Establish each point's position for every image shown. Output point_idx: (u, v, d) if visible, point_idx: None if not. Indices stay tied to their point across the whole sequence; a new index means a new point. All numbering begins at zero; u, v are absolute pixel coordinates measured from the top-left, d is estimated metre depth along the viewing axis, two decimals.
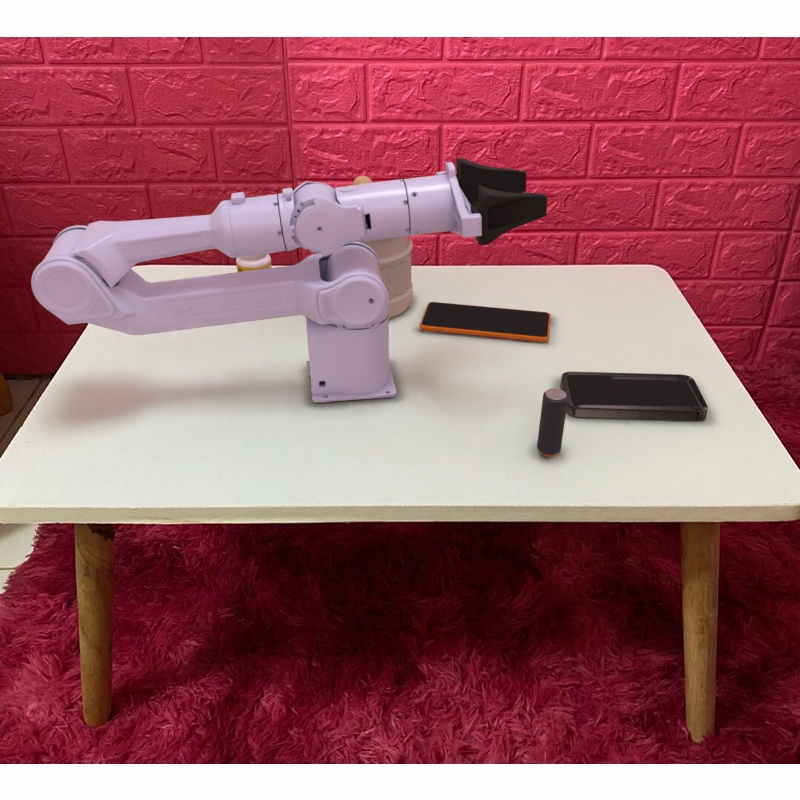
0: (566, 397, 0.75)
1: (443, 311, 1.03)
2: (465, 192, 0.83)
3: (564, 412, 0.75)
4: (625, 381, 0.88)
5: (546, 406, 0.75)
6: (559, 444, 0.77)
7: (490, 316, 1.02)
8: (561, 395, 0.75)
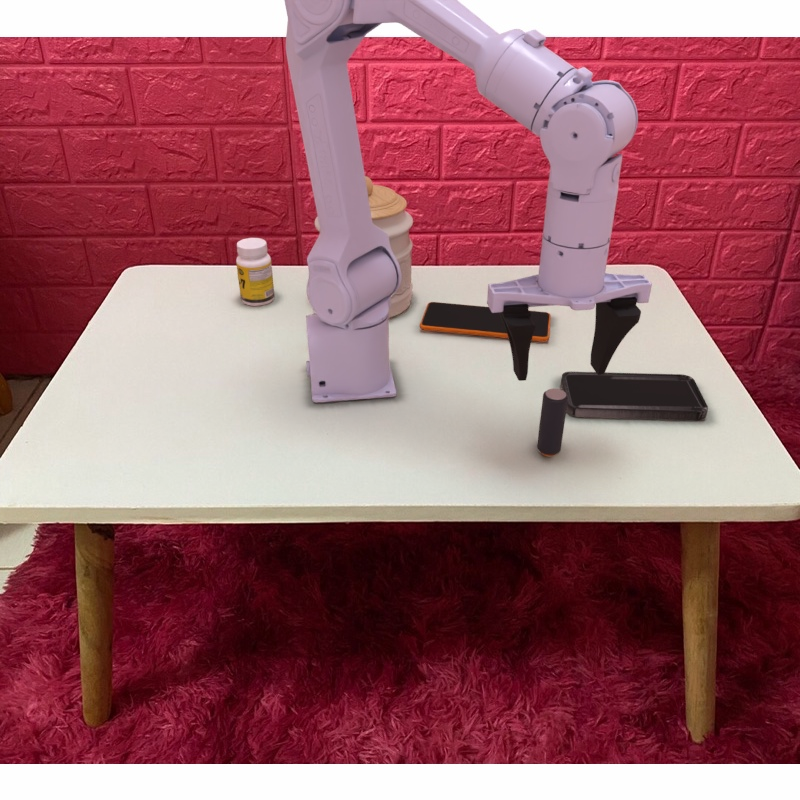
0: (566, 397, 0.75)
1: (443, 311, 1.03)
2: (604, 305, 0.71)
3: (564, 412, 0.75)
4: (625, 381, 0.88)
5: (546, 406, 0.75)
6: (559, 444, 0.77)
7: (490, 316, 1.02)
8: (561, 395, 0.75)
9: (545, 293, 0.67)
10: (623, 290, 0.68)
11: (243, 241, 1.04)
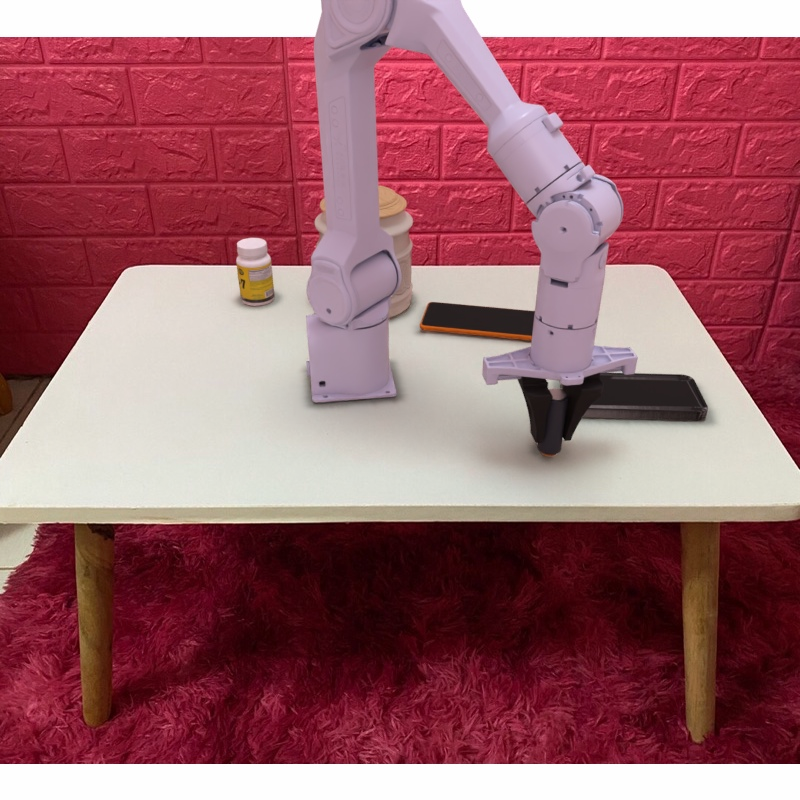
0: (566, 397, 0.75)
1: (442, 311, 1.03)
2: None
3: (564, 412, 0.75)
4: (625, 381, 0.88)
5: None
6: (559, 444, 0.77)
7: (490, 316, 1.02)
8: (561, 395, 0.75)
9: (537, 367, 0.71)
10: (610, 364, 0.72)
11: (243, 241, 1.04)
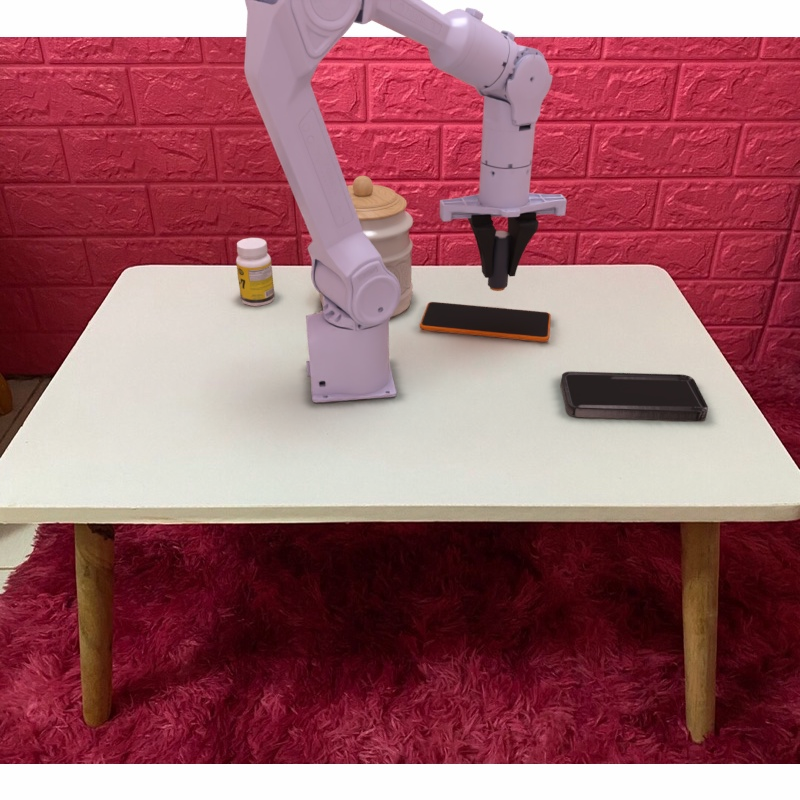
0: (509, 236, 0.91)
1: (443, 311, 1.03)
2: (512, 219, 0.91)
3: (508, 249, 0.91)
4: (625, 381, 0.88)
5: None
6: (505, 279, 0.93)
7: (490, 316, 1.02)
8: (505, 234, 0.91)
9: (483, 205, 0.87)
10: (543, 204, 0.88)
11: (243, 241, 1.04)
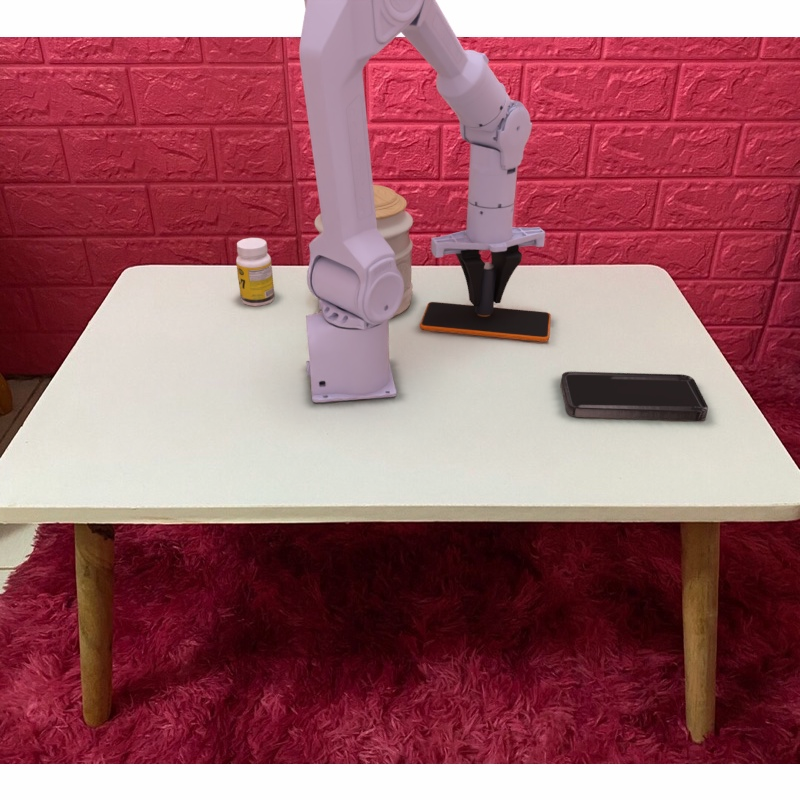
0: (495, 267, 0.99)
1: (442, 311, 1.03)
2: (496, 251, 0.99)
3: (494, 279, 0.99)
4: (625, 381, 0.88)
5: None
6: (492, 306, 1.01)
7: (490, 316, 1.02)
8: (491, 266, 0.99)
9: (472, 241, 0.95)
10: (526, 237, 0.96)
11: (243, 241, 1.04)
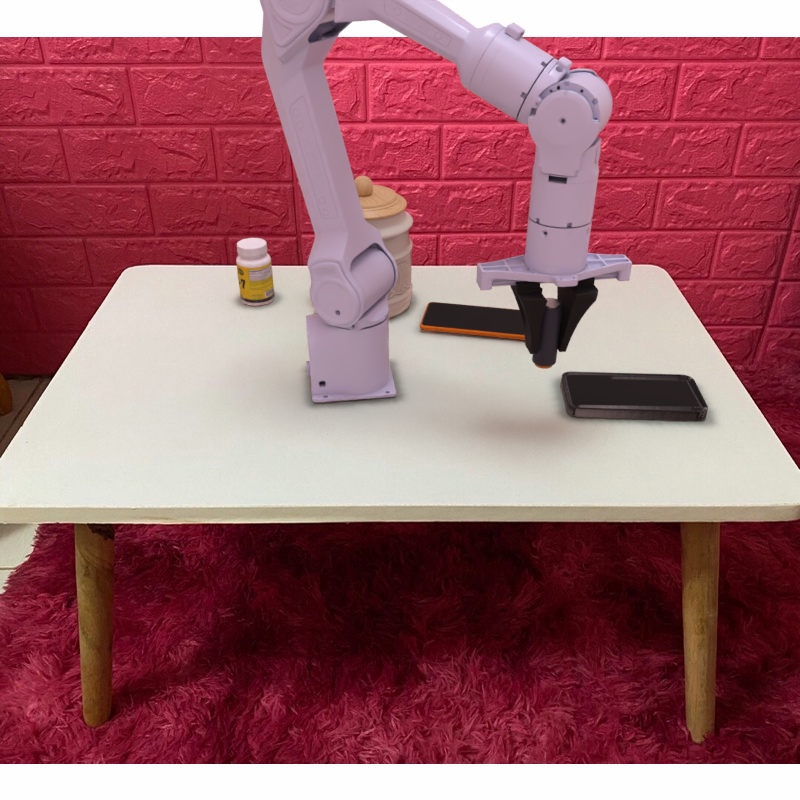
0: (561, 305, 0.74)
1: (442, 311, 1.03)
2: None
3: (559, 321, 0.75)
4: (625, 381, 0.88)
5: None
6: (554, 355, 0.77)
7: (490, 316, 1.02)
8: (556, 303, 0.74)
9: (531, 271, 0.71)
10: (605, 268, 0.72)
11: (243, 241, 1.04)
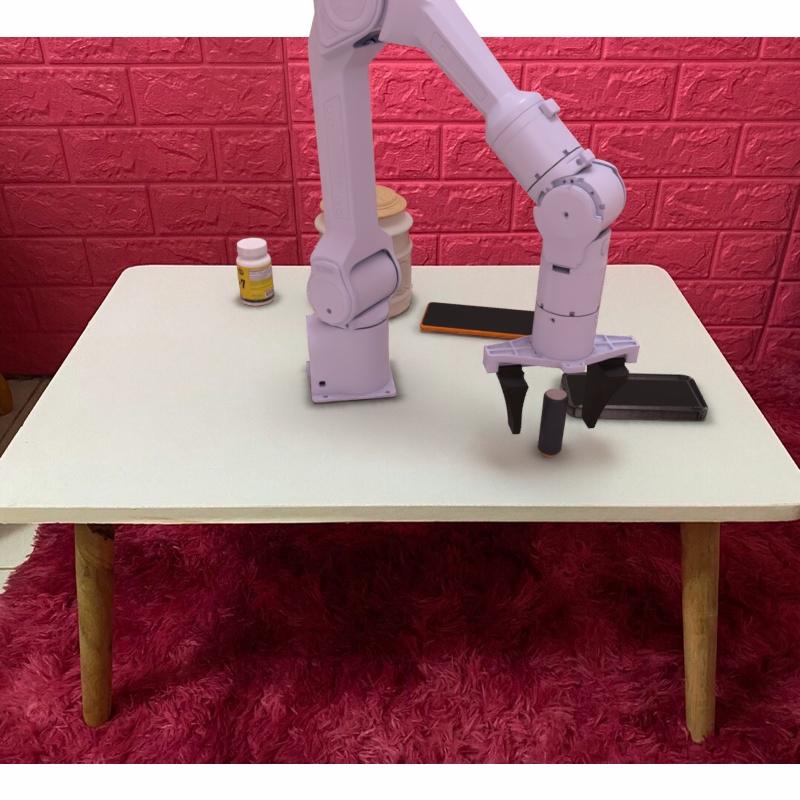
0: (567, 397, 0.75)
1: (443, 311, 1.03)
2: (594, 363, 0.74)
3: (565, 412, 0.75)
4: None
5: (547, 406, 0.75)
6: (560, 444, 0.77)
7: (490, 316, 1.02)
8: (562, 395, 0.75)
9: (538, 355, 0.71)
10: (612, 352, 0.71)
11: (243, 241, 1.04)
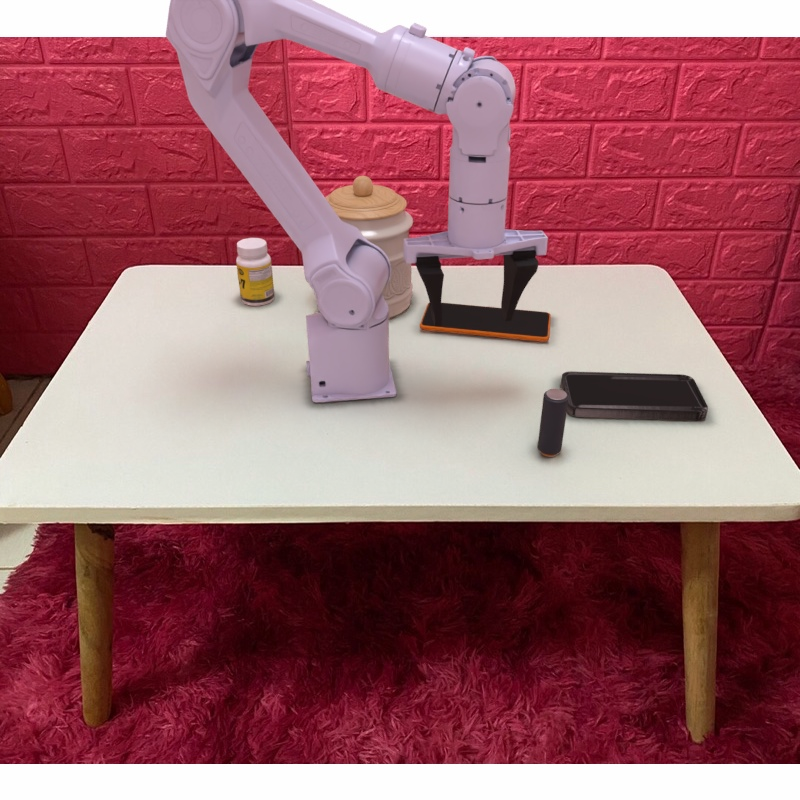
0: (567, 397, 0.75)
1: (442, 311, 1.03)
2: (508, 257, 0.80)
3: (565, 412, 0.75)
4: (625, 381, 0.88)
5: (547, 406, 0.75)
6: (560, 444, 0.77)
7: (490, 316, 1.02)
8: (562, 395, 0.75)
9: (452, 245, 0.76)
10: (521, 243, 0.77)
11: (243, 241, 1.04)
